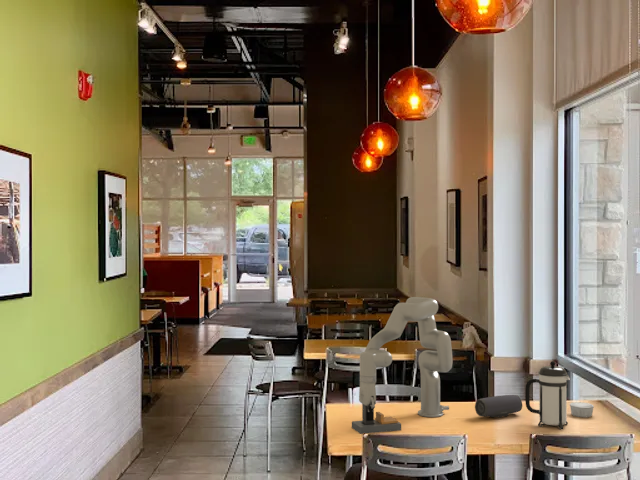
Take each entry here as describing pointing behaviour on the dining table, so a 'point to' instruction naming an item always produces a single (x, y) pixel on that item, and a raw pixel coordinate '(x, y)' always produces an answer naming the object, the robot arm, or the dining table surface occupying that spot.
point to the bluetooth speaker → (498, 405)
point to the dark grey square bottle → (364, 416)
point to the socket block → (375, 427)
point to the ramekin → (581, 409)
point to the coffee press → (550, 395)
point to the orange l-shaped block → (384, 419)
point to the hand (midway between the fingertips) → (368, 418)
